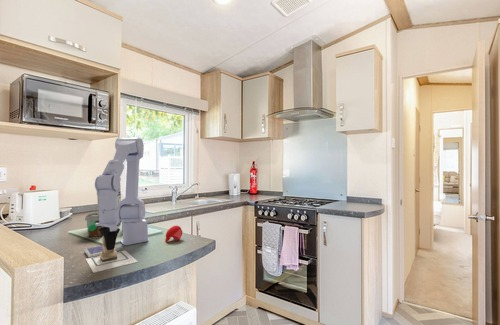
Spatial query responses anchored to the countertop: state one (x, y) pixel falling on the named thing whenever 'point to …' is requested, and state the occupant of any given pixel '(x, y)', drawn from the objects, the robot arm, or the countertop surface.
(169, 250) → the countertop surface
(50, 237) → the countertop surface
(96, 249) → the ink pad
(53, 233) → the countertop surface
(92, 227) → the food container
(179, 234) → the red rounded piece
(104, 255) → the stamp
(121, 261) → the paper
